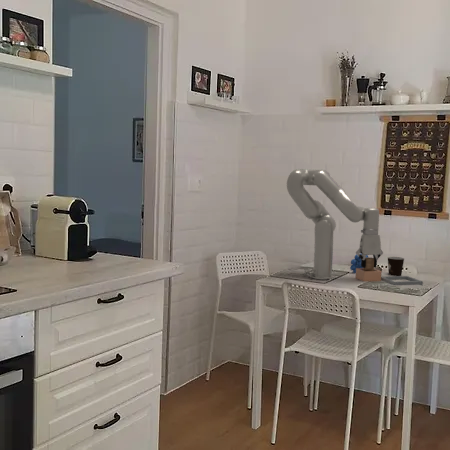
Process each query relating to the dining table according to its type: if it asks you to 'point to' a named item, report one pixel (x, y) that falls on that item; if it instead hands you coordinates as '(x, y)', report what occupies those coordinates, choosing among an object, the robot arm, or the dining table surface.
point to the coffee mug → (395, 265)
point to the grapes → (356, 263)
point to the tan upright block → (369, 264)
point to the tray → (410, 281)
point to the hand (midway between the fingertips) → (368, 267)
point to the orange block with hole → (368, 275)
